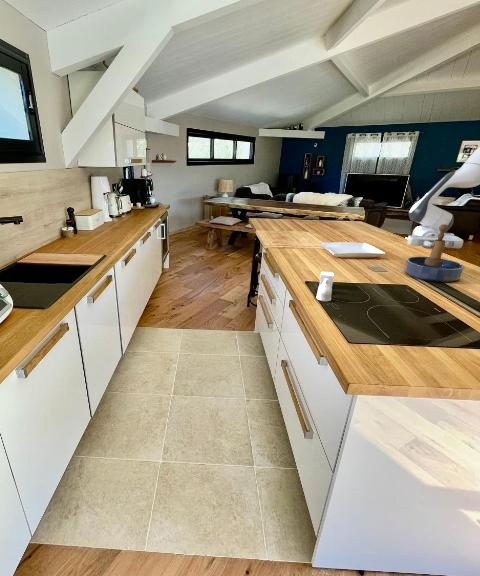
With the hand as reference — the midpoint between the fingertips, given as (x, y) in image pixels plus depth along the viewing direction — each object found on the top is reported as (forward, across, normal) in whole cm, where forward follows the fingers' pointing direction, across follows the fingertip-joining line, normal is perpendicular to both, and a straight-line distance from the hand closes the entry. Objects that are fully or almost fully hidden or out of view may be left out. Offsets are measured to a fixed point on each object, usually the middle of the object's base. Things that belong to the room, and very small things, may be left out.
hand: (439, 245), depth 136 cm
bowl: (-1, 0, +14) cm, 14 cm away
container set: (+36, -45, +14) cm, 60 cm away
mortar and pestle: (-1, 0, +9) cm, 9 cm away
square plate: (-33, -31, +14) cm, 47 cm away
